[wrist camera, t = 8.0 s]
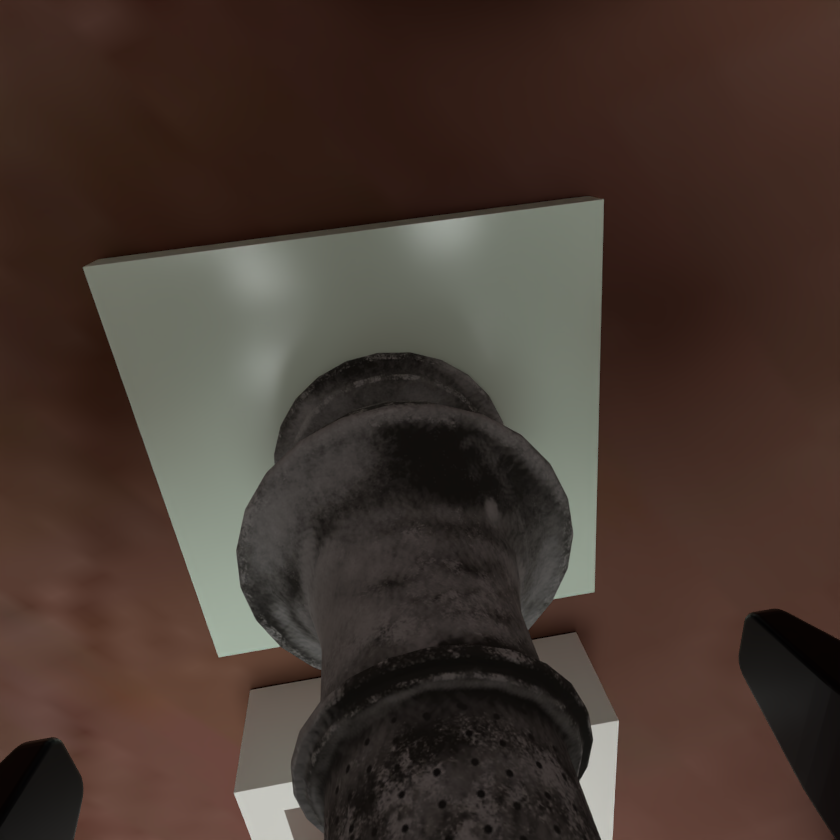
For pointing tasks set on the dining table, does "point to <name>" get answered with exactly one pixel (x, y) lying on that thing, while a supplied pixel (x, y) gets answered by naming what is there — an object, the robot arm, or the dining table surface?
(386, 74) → the dining table surface
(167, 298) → the green tile
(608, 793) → the shaker holder
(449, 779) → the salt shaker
